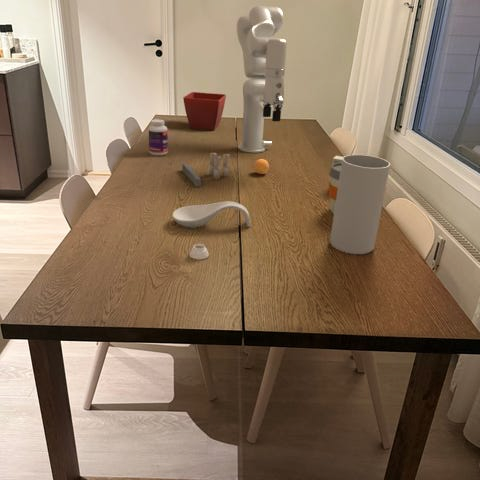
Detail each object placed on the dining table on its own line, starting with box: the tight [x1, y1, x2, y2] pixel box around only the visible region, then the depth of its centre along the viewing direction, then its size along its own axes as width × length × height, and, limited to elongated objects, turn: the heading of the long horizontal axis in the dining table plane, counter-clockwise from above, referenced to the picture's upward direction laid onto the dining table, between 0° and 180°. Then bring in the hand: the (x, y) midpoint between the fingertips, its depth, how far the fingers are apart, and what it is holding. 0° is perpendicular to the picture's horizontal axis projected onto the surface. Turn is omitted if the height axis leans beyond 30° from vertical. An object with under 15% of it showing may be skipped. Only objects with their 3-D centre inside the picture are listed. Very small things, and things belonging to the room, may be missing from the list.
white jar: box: [189, 243, 210, 260], centre depth 129 cm, size 5×3×5 cm
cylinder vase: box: [329, 154, 391, 255], centre depth 135 cm, size 12×12×25 cm
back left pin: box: [213, 156, 222, 181], centre depth 186 cm, size 2×2×8 cm
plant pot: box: [183, 91, 227, 132], centre depth 261 cm, size 19×19×17 cm
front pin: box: [222, 153, 231, 178], centre depth 189 cm, size 2×2×8 cm
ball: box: [253, 158, 270, 175], centre depth 195 cm, size 6×6×6 cm
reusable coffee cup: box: [328, 163, 342, 213], centre depth 161 cm, size 13×13×15 cm
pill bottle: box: [148, 119, 169, 157], centre depth 211 cm, size 8×8×14 cm
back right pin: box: [209, 152, 217, 177], centre depth 190 cm, size 2×2×8 cm
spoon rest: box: [172, 200, 252, 229], centre depth 147 cm, size 24×12×7 cm, turn 96°
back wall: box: [181, 162, 202, 188], centre depth 186 cm, size 2×20×3 cm, turn 21°
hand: (271, 119), depth 194 cm, fingers open, 9 cm apart
